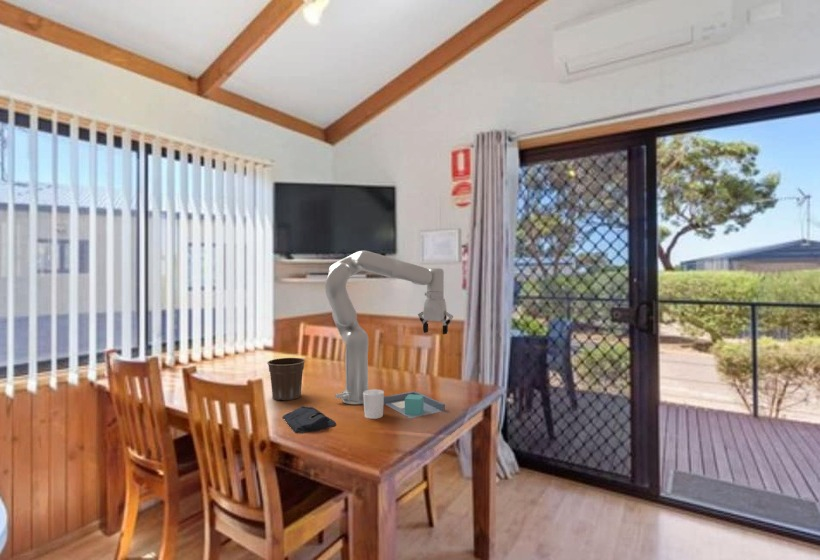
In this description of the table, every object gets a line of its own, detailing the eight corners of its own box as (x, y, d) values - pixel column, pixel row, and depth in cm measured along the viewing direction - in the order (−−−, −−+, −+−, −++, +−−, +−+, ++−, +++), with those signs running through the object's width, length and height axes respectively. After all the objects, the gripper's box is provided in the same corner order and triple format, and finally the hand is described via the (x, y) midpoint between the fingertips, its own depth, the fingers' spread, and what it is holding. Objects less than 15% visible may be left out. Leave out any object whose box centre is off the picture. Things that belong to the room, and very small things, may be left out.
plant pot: (293, 389, 210) (292, 355, 210) (313, 396, 199) (312, 360, 199) (261, 397, 198) (260, 361, 198) (280, 404, 187) (279, 366, 187)
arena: (410, 420, 166) (409, 411, 166) (382, 405, 185) (382, 397, 185) (444, 413, 175) (444, 404, 175) (415, 399, 194) (415, 391, 193)
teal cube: (420, 415, 170) (420, 399, 169) (404, 414, 171) (404, 398, 171) (423, 410, 175) (423, 395, 175) (408, 409, 177) (408, 394, 177)
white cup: (373, 413, 175) (373, 388, 175) (388, 417, 170) (388, 391, 170) (359, 418, 169) (358, 392, 169) (374, 423, 164) (373, 396, 164)
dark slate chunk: (317, 411, 180) (317, 399, 180) (338, 427, 161) (338, 414, 161) (279, 418, 172) (279, 406, 172) (296, 436, 154) (296, 423, 153)
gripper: (414, 295, 203) (414, 332, 204) (448, 296, 194) (448, 335, 195) (422, 294, 210) (422, 330, 210) (456, 295, 201) (456, 333, 201)
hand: (435, 333), depth 203 cm, fingers open, 9 cm apart
